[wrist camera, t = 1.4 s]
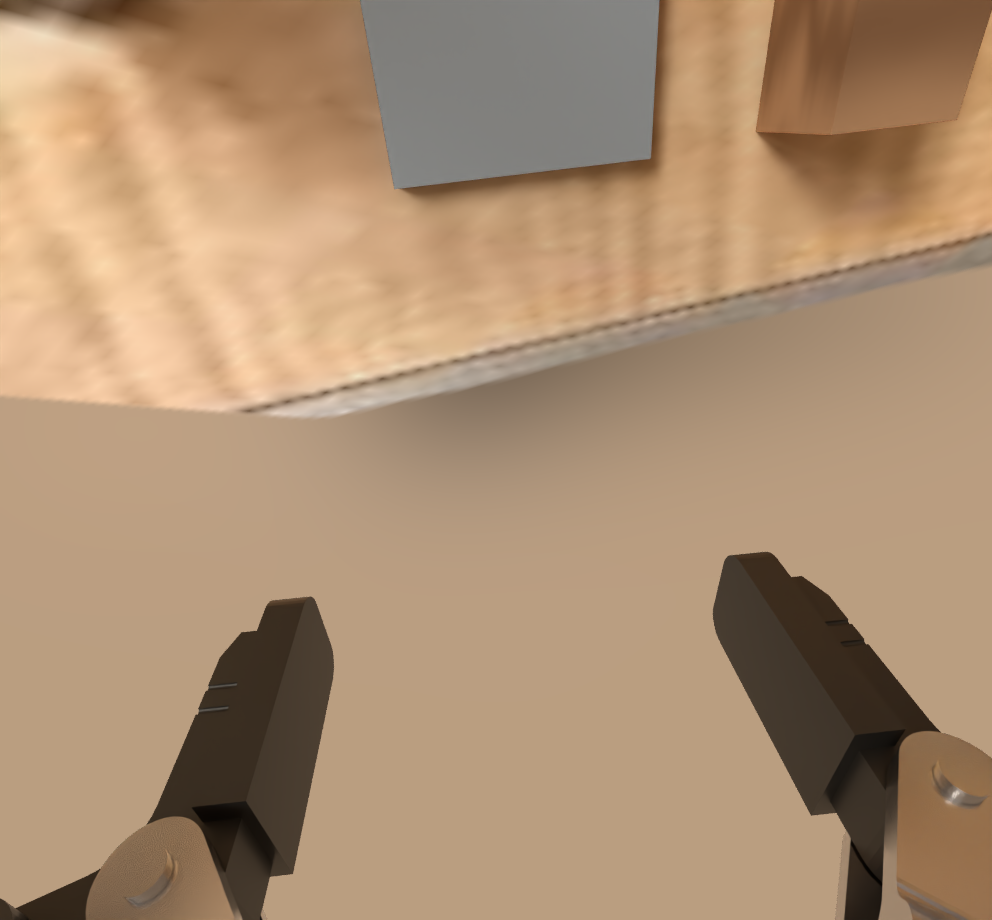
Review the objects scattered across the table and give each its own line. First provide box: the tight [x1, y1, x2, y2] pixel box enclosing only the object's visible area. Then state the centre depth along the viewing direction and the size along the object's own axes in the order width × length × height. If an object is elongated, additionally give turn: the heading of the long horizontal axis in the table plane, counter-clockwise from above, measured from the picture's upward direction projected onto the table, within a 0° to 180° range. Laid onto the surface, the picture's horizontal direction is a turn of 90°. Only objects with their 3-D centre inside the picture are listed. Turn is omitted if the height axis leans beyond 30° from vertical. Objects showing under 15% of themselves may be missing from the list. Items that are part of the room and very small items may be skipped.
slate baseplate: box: [360, 0, 659, 189], centre depth 22 cm, size 12×12×1 cm
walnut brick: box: [756, 0, 992, 135], centre depth 21 cm, size 7×5×6 cm
